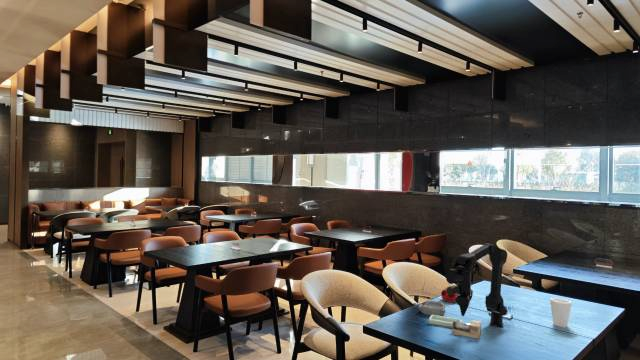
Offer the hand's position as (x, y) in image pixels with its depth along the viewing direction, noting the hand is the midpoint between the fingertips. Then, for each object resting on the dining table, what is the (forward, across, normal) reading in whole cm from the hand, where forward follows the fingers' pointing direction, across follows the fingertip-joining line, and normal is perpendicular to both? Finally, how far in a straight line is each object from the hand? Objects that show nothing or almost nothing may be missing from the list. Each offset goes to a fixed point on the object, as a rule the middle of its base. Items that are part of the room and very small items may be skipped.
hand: (464, 313), depth 201 cm
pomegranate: (+10, -52, -14) cm, 55 cm away
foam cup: (+10, -37, +44) cm, 58 cm away
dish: (+10, -24, -19) cm, 32 cm away
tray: (+10, -9, -10) cm, 17 cm away
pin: (+6, 0, 0) cm, 7 cm away
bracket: (+10, 0, +1) cm, 10 cm away
